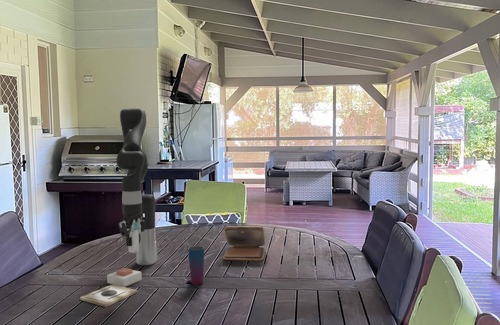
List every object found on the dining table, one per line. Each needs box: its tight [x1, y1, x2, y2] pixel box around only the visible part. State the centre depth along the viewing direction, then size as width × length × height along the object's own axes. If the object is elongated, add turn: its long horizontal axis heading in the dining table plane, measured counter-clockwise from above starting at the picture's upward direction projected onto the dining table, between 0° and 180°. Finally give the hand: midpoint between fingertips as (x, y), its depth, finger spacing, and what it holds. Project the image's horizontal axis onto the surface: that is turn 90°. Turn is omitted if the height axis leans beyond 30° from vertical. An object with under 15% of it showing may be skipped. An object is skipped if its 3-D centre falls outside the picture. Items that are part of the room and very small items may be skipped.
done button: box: [116, 267, 133, 276], centre depth 196 cm, size 4×4×3 cm
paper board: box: [79, 284, 138, 308], centre depth 179 cm, size 16×14×1 cm
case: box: [222, 225, 266, 262], centre depth 232 cm, size 20×21×16 cm
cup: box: [187, 245, 205, 285], centre depth 193 cm, size 7×7×15 cm
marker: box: [128, 222, 139, 254], centre depth 181 cm, size 4×4×12 cm
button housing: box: [106, 269, 143, 288], centre depth 196 cm, size 10×10×4 cm
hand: (133, 244), depth 182 cm, fingers closed on marker, 4 cm apart
